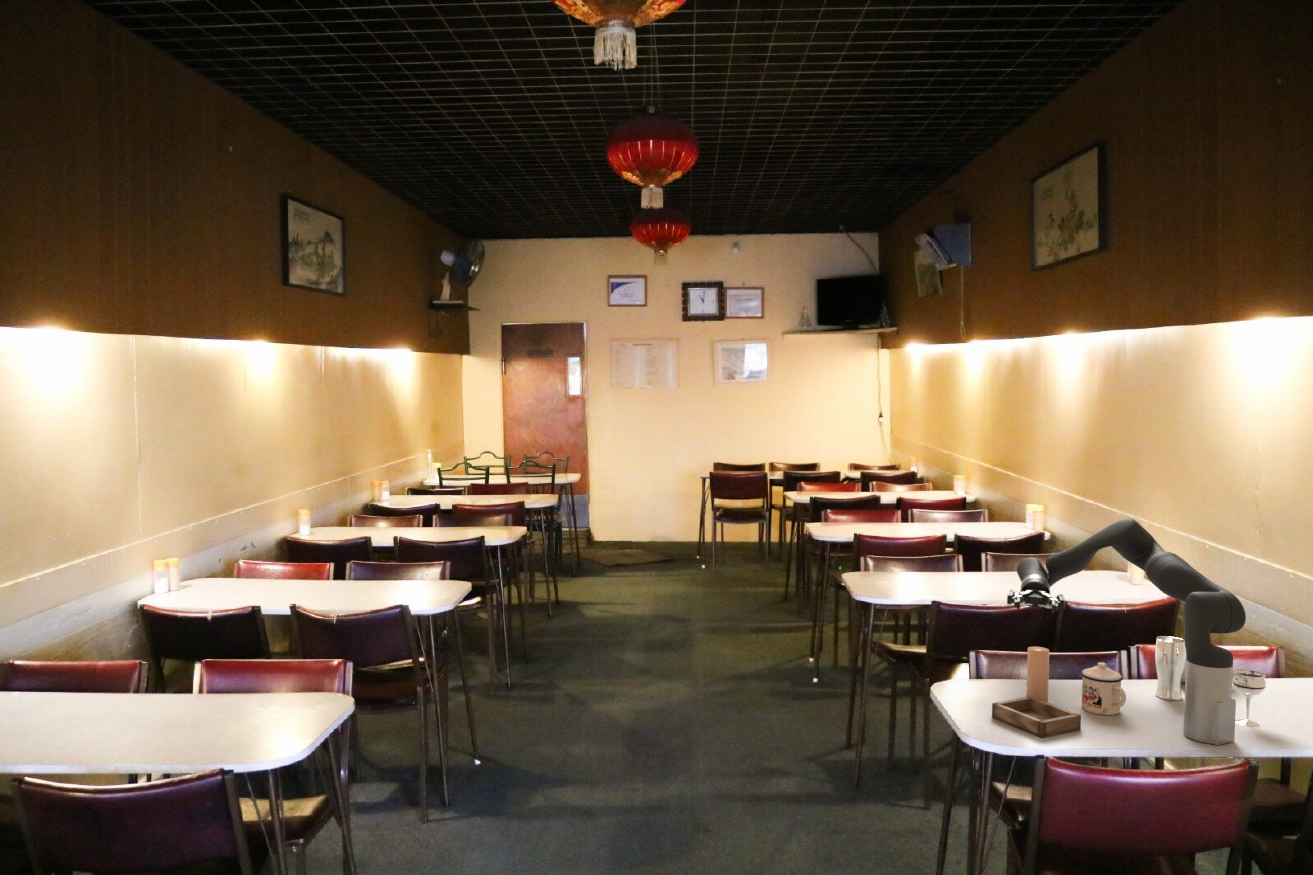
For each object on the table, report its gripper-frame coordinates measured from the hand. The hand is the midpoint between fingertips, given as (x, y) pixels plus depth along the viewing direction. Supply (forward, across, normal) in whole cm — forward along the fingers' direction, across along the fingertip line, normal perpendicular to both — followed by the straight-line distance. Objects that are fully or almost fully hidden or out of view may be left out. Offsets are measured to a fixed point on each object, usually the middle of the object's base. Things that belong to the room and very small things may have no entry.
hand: (1036, 607), depth 251 cm
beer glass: (-6, +33, +22) cm, 40 cm away
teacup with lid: (+13, +16, +21) cm, 30 cm away
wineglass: (+9, +48, +21) cm, 53 cm away
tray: (+29, 0, +20) cm, 35 cm away
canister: (+13, +1, +21) cm, 25 cm away
